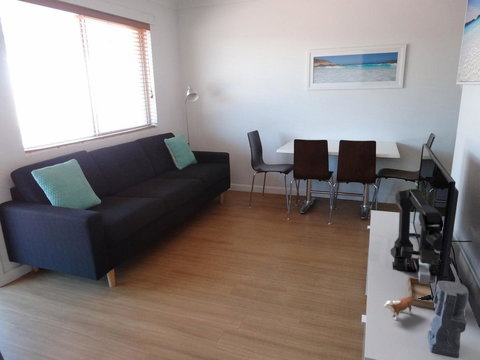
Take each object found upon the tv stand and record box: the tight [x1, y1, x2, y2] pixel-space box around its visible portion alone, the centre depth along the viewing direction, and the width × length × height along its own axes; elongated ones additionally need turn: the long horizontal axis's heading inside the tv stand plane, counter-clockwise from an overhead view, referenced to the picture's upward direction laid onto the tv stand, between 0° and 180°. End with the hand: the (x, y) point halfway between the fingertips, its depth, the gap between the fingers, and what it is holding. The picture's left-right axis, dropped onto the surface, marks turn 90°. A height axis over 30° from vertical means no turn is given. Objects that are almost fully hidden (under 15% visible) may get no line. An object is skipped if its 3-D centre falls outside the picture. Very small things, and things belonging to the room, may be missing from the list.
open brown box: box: [407, 276, 435, 310], centre depth 154 cm, size 17×11×3 cm, turn 159°
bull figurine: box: [383, 295, 413, 321], centre depth 141 cm, size 4×13×8 cm, turn 111°
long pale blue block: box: [417, 259, 431, 285], centre depth 150 cm, size 13×4×4 cm, turn 157°
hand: (423, 272), depth 151 cm, fingers closed on long pale blue block, 4 cm apart
